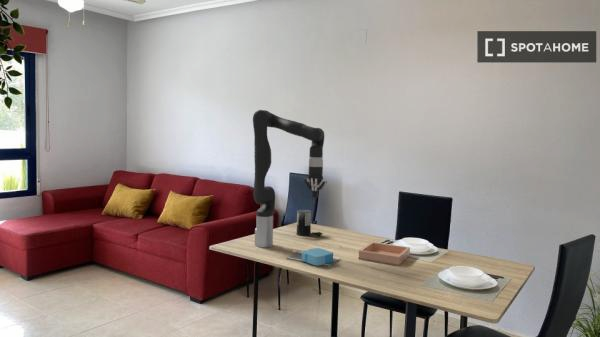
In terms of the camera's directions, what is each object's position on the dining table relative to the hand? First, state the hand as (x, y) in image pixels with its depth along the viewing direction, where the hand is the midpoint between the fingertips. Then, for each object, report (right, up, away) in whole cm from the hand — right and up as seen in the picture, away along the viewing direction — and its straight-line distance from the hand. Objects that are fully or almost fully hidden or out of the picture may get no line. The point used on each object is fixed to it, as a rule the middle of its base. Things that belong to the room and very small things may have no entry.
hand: (315, 197), depth 242 cm
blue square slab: (-4, -28, -13) cm, 31 cm away
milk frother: (-2, -26, +36) cm, 45 cm away
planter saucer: (+36, -31, -7) cm, 48 cm away
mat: (-1, -31, -14) cm, 33 cm away
